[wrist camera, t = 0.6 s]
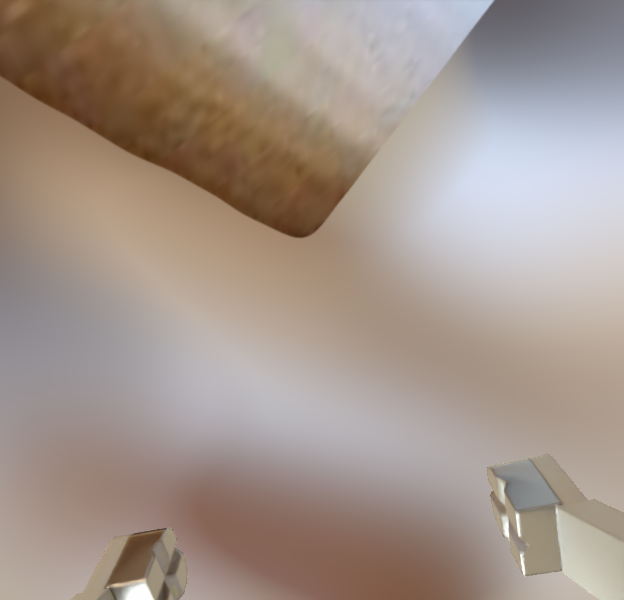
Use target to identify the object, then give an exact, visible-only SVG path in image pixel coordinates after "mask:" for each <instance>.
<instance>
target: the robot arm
mask: <svg viewBox="0 0 624 600" xmlns="http://www.w3.org/2000/svg"><path fill="white" fill-rule="evenodd" d="M487 475H488V481H489V483H490V485H491V487H492V489H493V492H492V493H491V495H490V497H491V503H492V508H493V512H494V515H495V519H496V521H497V524H498V526H499V528H500V531H501V532H502V535H503V536H504V537H506V538H507V539H509V540H510V547H511V553H512V554H513V556H514V558H515V560H516V562H517V564H518V566H519V568H520V570H521V572H522V574H523V576H529V575H537V574H544V573H550V572H558V571H562V572H563V574H565V575H566V576H567V577H569V578H570V579H571V580H573V581H574V582H575V583H577V584H578V585H579V586H581V587H582V588H583V589H585V590H586V591H587V592H589V593H590V594H591V595H593V596H594V597H595V598H597V599H598V600H624V513H623V512H621V511H619V510H617V509H615V508H612V507H610V506H608V505H606V504H603V503H602V502H599V501H597V500H595V499H593V500H587V498H586V497H585V496H584V495H583V493H582V492H581V491H580V490H579V489H578V487H577V486H576V485H575V484H574V482H573V481H572V480H571V479H570V477H569V476H568V475H567V474H566V473H565V471H564V470H563V469H562V468H561V466H560V465H559V464H558V463H557V461H556V460H555V459H554V458H553V457H552V456H551V455H549V454H546V455H542V456H537V457H532V458H528V459H525V460H520V461H515V462H510V463H505V464H500V465H495V466H490V467H487ZM176 542H177V537H176V535H175V533H174V531H173V529H171V528H164V529H158V530H152V531H146V532H140V533H134V534H131V535H124V536H119V537H115V538H113V539H112V540H110V542H109V544H108V545H107V548H106V549H105V551H104V553H103V555H102V557H101V559H100V561H99V563H98V565H97V566H96V568H95V570H94V572H93V574H92V576H91V578H90V580H89V582H88V584H87V586H86V587H85V589H84V591H83V593H81V594H77V595H75V596H74V597H73V598H72V599H71V600H179V599H180V598H181V597H182V595H183V594H184V592H185V588H186V584H187V565H186V560H185V557H184V554H183V553H182V552H181V551H180V550H178V549H177V548H175V545H176Z"/></svg>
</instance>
